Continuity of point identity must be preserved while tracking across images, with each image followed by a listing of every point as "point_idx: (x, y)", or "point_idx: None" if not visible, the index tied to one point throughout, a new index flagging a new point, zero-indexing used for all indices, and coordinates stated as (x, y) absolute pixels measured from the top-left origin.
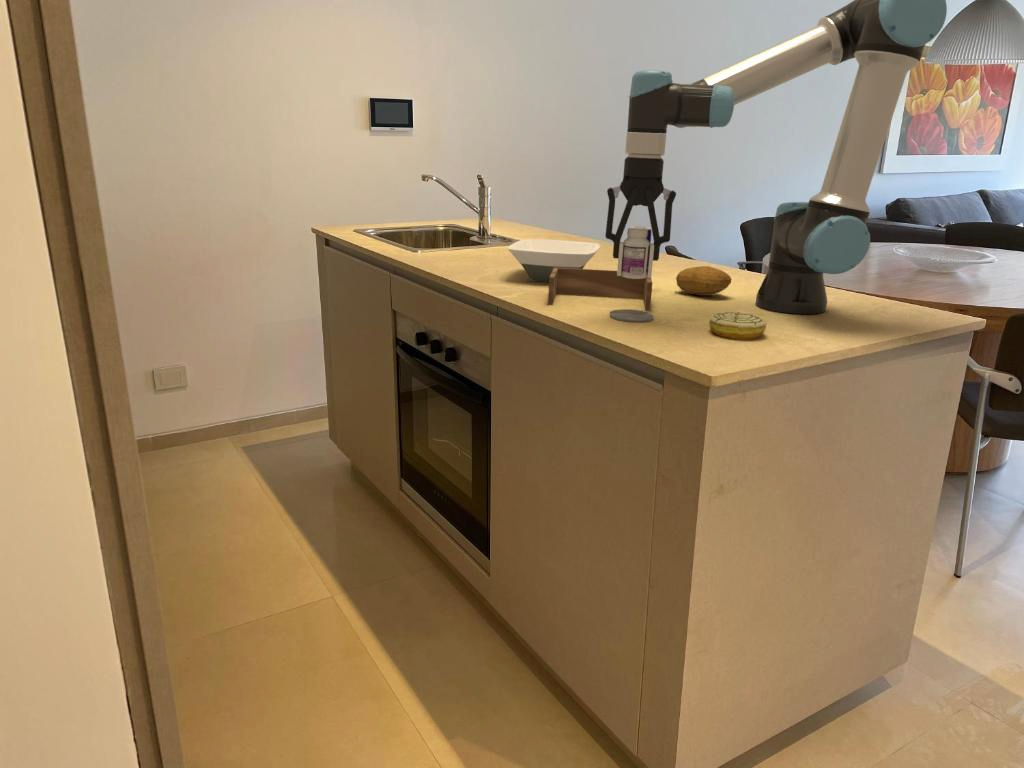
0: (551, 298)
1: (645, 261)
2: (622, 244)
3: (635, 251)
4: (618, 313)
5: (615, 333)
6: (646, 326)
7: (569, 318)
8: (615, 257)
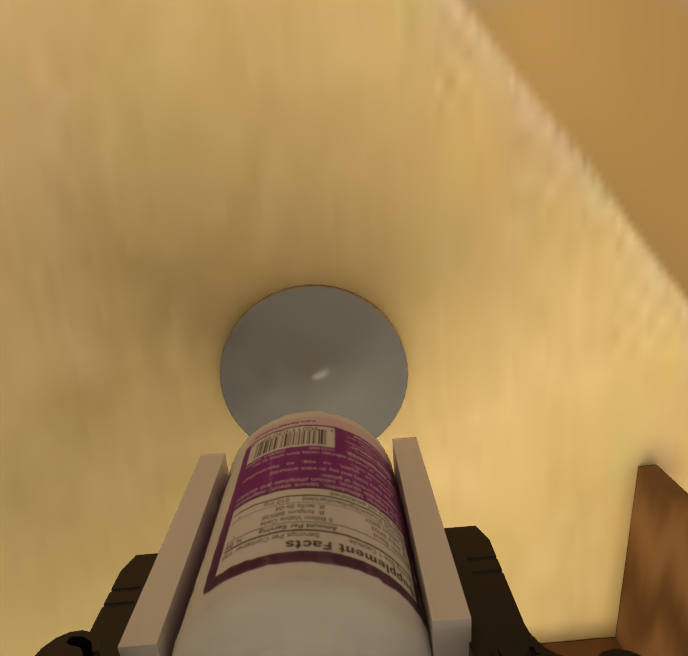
0: (661, 483)
1: (223, 508)
2: (439, 611)
3: (301, 529)
4: (369, 372)
5: (359, 28)
6: (234, 226)
7: (574, 261)
8: (463, 532)
